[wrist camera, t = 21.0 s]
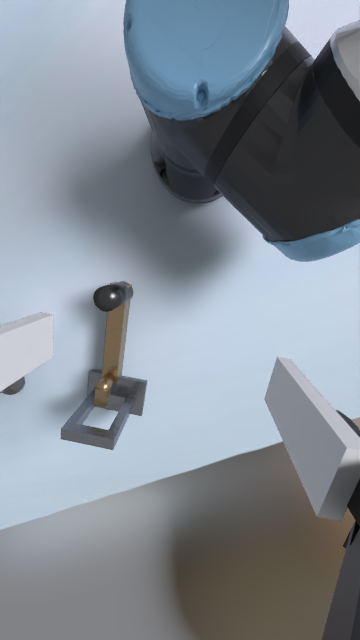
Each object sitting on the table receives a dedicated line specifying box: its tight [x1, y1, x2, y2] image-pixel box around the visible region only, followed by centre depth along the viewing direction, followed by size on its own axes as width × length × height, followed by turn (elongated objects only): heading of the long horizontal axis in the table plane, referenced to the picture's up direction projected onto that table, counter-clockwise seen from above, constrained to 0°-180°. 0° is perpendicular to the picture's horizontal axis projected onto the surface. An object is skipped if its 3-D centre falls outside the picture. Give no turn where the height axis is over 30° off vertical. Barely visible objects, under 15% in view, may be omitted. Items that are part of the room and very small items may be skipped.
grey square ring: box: [61, 370, 147, 450], centre depth 44 cm, size 8×12×14 cm, turn 80°
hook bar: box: [93, 281, 133, 407], centre depth 40 cm, size 21×4×8 cm, turn 170°
